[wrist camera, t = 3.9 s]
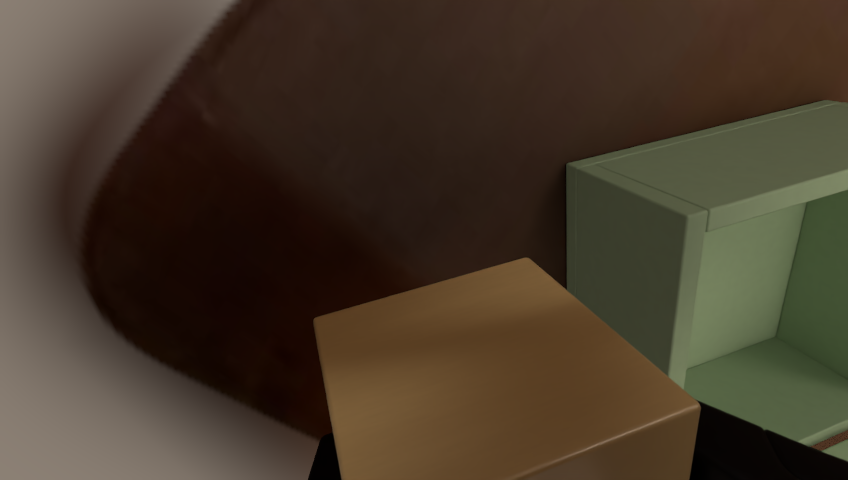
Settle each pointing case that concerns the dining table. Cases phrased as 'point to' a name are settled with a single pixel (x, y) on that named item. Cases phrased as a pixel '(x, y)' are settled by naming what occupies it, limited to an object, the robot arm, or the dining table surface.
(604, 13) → the dining table surface
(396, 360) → the block
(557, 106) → the dining table surface
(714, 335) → the file box
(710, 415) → the robot arm
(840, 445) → the lid
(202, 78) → the dining table surface
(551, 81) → the dining table surface
